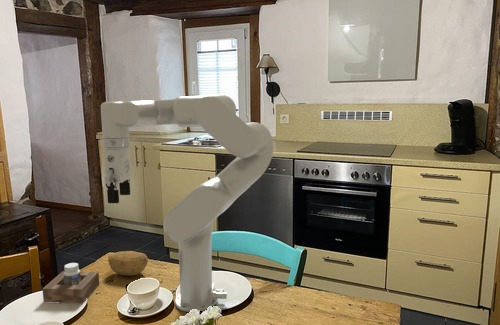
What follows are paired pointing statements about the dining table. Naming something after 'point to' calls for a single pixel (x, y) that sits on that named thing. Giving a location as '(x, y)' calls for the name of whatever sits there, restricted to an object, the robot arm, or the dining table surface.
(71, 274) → the pill bottle
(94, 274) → the socket block
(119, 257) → the potato
